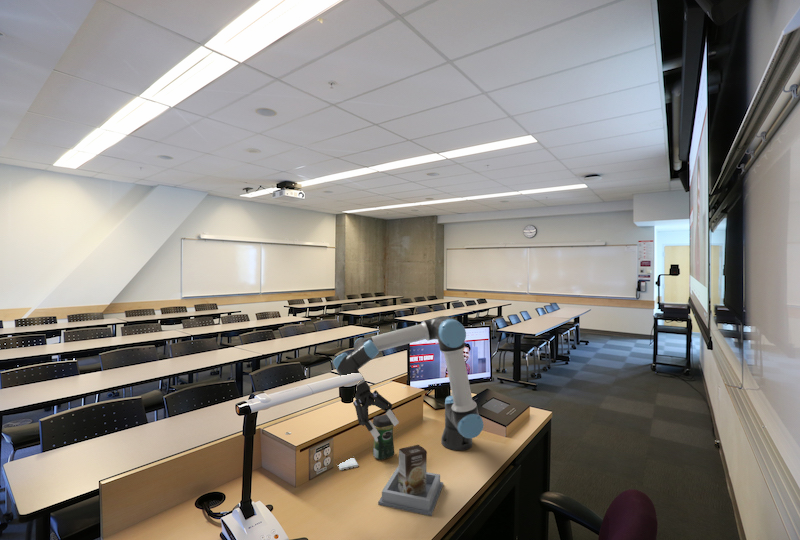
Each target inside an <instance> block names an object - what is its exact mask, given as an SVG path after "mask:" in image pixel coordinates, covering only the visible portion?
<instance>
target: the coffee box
mask: <svg viewBox="0 0 800 540" xmlns="http://www.w3.org/2000/svg"><path fill="white" fill-rule="evenodd" d="M427 455H428V451H427V450H426V449H425V448H424V447H423V446H421V445H420V444H415V445H410V446H407V447H401V448H399V449H398V467H399V476H398V490H399V492H400V493H405V494H410V495H414V496H415V495H419V494H422V493H425V492H426V472H427V460H428V459H427Z"/></svg>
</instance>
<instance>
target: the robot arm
mask: <svg viewBox="0 0 800 540" xmlns="http://www.w3.org/2000/svg"><path fill="white" fill-rule="evenodd" d="M466 338H467V332H466V329H465V327H464V325H463V324H462V323H461V322H459V320H457V319H454V318H451V317H450V316H446V315H441V316H437V317H433V318H431V319H426V320H423V321H422V322H421V323H420V324H416V325H411V326H407V327H403V328H400V329H397V330H393V331H389V332H384V333H381V334H377V335H373V336H370V337H369V336H368V337H359V338H357V339H355V341H354V343H353V351H352V352H350V353H349V354H348V353H347V352H342V353H341V354H338V355H337V356H336V357H335V358H334V359H333V362H332V364H333V366H334V368H335V370H336V372H337V374H339V376H340V377H341V375H347V374H351V373H360V374H361V375H362V373H361V372H360V371H359V370H360V369H361V368H362V367H363V366H365V365H366V364H368V363H369V362H370V361H372V360H373V359H374V358H375V357H376V356H378V354H379V353H380V352H381V351H385V350H389V349H392V348H397V347H401V346H404V345H408V344H412V343H416V342H420V341H424V340H426V341H432V340H437V342H438V346H439V351H440V352H441V353H443V354H444V355H443V356H444V359H445V365H446V370H447V375H448V379H449V385H450V391H451V395H448V396H446V398H445V400H444V401H445V402H444V417H445V418H444V429H443V431H442V435H441V438H440V439H441V440H440V441H441V445H442V447H445V448H446V449H449V450H453V451H467V450H469V449H470V448H472V446H473V439H474V438H477V437H478V436H479V435H480V434H481V432H482V431H483V429H484V424H485V423H484V421H483V418H482V416H481V415H480V414H479V410H478V409H479V408H478V405H477V402H476V401H475V400H473V396H472V392H471V391H472V390H471V386H470V381H469V375H468V370H467V365H466V361H465V360H466V359H465V356H464V355H465V354H464V349H465V348H466V343H465V341H466ZM362 377H363V380H362V381H360V382H359V383H358V384H357V391H356V395H355V397H354V396H353V397H354V399H355V400H354V401H353V402H352V403H353V404H352V405H353V406H354V407H355V408H354V409H355V413H356V417H357V422H358V424H359V425H360V426H363V427H364V426H365V428H366V429H367V431H368V432H369V433H370V434H371V436H372V437H373V439H374V438H375V439H376V438H377V437H378V436H379V435H380V434H379V432H378V431H377V429H376V428H375V426H374V425H373V421H371V419H369V407H372V406H375V407H377V408H379V409H380V410H382V411H385V415H387V416H388V418H389V419H390V420H391V422H392V423H393V425H394V427H396V426H397V425H398V424H400V421H399V420H398V418H397V417H396V414H395V413H394V412H393V410H392V408H393V404H392V403H391V402H390V401H389V400H388V399H386V398H385V397H383V395H381V394H380V393H379V392H378V390H376V389H375V390H374V391H373V392H372V390H371V387H370V385H369V384H368V382H367V381H365V380H366V379H365V378H364V376H363V375H362Z"/></svg>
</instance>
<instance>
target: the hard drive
mask: <svg viewBox="0 0 800 540" xmlns="http://www.w3.org/2000/svg"><path fill="white" fill-rule="evenodd" d="M338 466H339V467H338ZM358 466H359V463H358V462H357V460H356V458H355V457H354V458H350V459H348V460H346V461H345V462H342V463H340V464H339V465H337V467H338V469H339V471H340V470H341V471H345V470H344V469H346V470H349V468H350V469H353V467H354V468H358Z"/></svg>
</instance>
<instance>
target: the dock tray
mask: <svg viewBox="0 0 800 540" xmlns="http://www.w3.org/2000/svg"><path fill="white" fill-rule="evenodd" d="M398 476H399V466H397V467H396V468H395V470H394V472H393V473H392V475H391V476H390V477H389V480H388V481H387V483H386V484H385V486H384V487H383V489H382V491H381V497H380V498H379V499H378V502H377V505H378V506H383V507H386V508H387V507H388V508H394V509H397V510H401V511H405V512H410V513H414V514H419V515H423V516H428V517H432V515H433V513H434V511H435V508H436V505H437V502H438V499H439V497H440V495H441V492H442V489H443V487H444V482H443V481H441V474H439V473H434V472H429V471H426V492H425V493H422V494H419V495H415V496H414V495H410V494H405V493H400V492H399V490H398Z"/></svg>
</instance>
